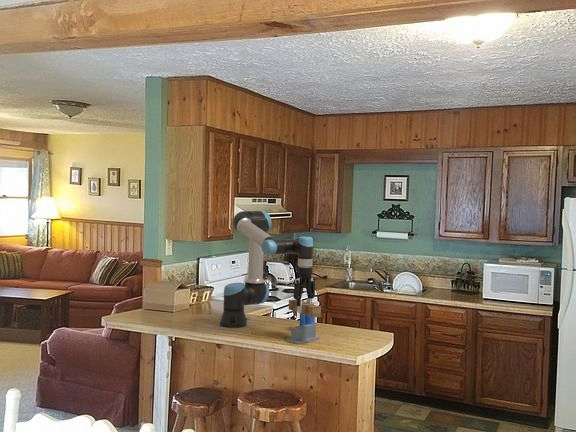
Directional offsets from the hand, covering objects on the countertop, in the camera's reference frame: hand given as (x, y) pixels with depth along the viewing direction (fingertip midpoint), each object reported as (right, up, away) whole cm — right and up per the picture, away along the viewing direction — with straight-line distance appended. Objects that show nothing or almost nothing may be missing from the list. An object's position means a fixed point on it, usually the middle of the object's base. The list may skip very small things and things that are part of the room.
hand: (304, 311), depth 303 cm
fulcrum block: (0, -15, +1) cm, 15 cm away
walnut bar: (0, -1, 0) cm, 1 cm away
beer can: (+2, -14, +20) cm, 24 cm away
